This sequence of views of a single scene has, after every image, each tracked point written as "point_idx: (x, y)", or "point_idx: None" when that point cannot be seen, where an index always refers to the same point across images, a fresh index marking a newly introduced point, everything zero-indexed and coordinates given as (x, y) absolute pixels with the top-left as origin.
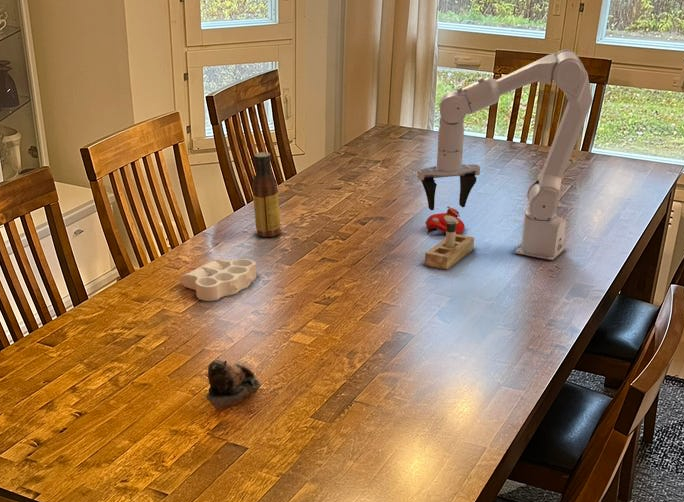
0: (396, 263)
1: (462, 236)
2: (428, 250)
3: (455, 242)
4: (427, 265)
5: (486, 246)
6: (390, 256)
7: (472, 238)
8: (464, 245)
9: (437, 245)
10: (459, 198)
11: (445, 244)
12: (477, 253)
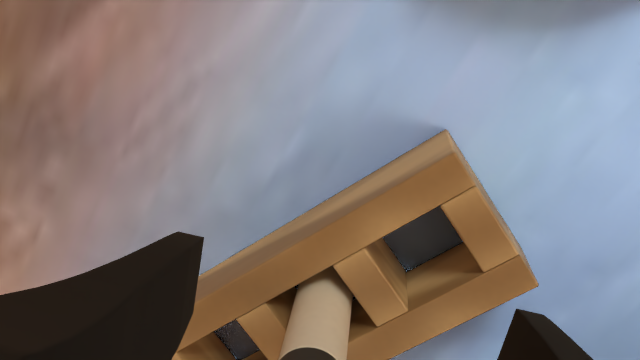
0: (25, 216)
1: (480, 235)
2: None
3: (375, 298)
4: None
5: (626, 243)
6: (23, 113)
7: (517, 294)
8: (404, 348)
9: (244, 288)
10: (536, 336)
11: (292, 308)
12: (504, 303)
